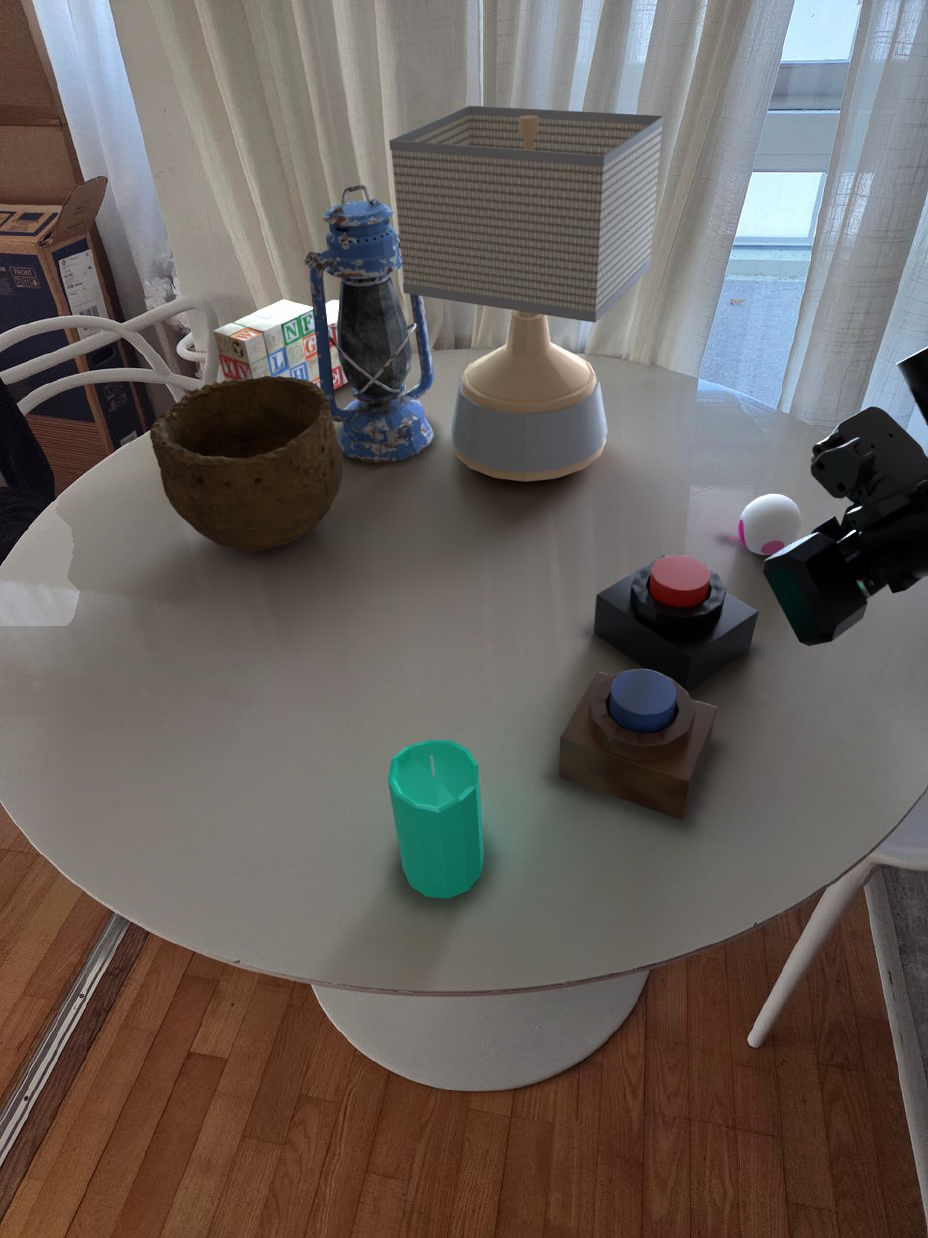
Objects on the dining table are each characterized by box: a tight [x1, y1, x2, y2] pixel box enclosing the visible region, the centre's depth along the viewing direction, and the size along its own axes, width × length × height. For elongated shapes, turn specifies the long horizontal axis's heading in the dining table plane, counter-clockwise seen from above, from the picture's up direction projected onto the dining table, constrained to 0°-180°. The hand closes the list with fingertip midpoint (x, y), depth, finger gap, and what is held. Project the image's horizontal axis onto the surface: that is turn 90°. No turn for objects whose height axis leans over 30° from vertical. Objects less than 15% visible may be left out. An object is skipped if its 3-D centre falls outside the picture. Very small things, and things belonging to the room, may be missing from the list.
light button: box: [649, 554, 710, 608], centre depth 75 cm, size 5×5×2 cm
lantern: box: [303, 184, 435, 464], centre depth 101 cm, size 15×12×30 cm
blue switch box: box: [558, 670, 718, 821], centre depth 67 cm, size 10×8×6 cm
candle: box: [387, 739, 485, 900], centre depth 59 cm, size 6×6×12 cm
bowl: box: [149, 376, 345, 551], centre depth 91 cm, size 19×19×15 cm
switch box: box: [593, 554, 760, 694], centre depth 77 cm, size 11×9×6 cm
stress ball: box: [727, 493, 802, 556], centre depth 88 cm, size 8×8×7 cm
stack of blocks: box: [213, 299, 349, 390], centre depth 118 cm, size 21×6×12 cm, turn 141°
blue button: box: [610, 668, 677, 733], centre depth 64 cm, size 5×5×2 cm
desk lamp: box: [389, 105, 665, 483], centre depth 94 cm, size 22×19×37 cm
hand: (786, 573), depth 65 cm, fingers closed
